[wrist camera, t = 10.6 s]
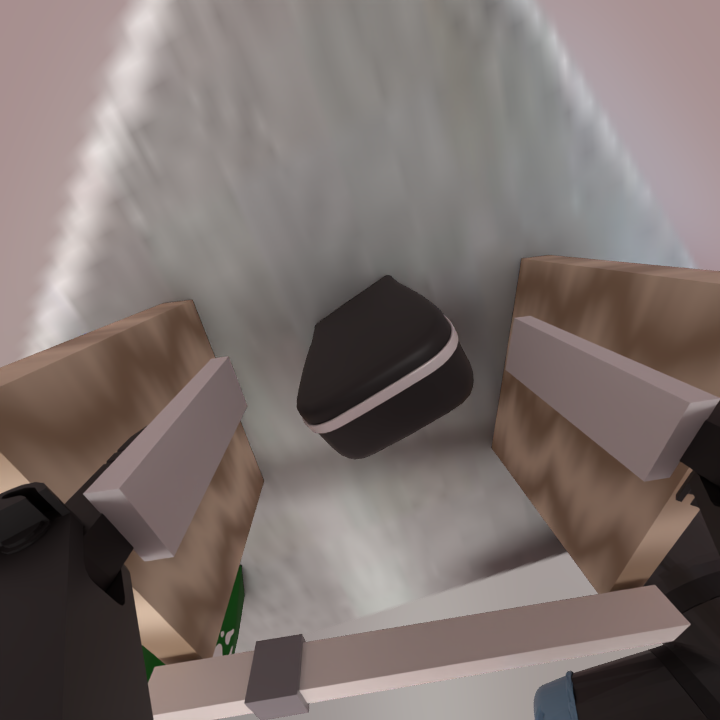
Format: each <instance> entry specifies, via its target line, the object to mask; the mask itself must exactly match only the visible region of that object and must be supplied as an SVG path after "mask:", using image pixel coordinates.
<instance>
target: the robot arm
mask: <svg viewBox="0 0 720 720" xmlns="http://www.w3.org/2000/svg"><path fill="white" fill-rule="evenodd" d="M505 370H507V371H508V372H509V373H510V374H511V375H513V376H514V377H515V378H516V379H518V380H519V381H520V382H521V383H523V384H524V385H525V386H526V387H528V388H529V389H530V390H531V391H533V392H534V393H535V394H536V395H537V396H539V397H540V398H541V399H542V400H544V401H545V402H546V403H547V404H549V405H550V406H551V407H552V408H554V409H555V410H556V411H557V412H558V413H560V414H561V415H562V416H563V417H565V418H566V419H567V420H568V421H570V422H571V423H572V424H573V425H575V426H576V427H577V428H578V429H580V430H581V431H582V432H583V433H584V434H586V435H587V436H588V437H589V438H591V439H592V440H593V441H594V442H596V443H597V444H598V445H599V446H601V447H602V448H603V449H604V450H606V451H607V452H608V453H609V454H610V455H612V456H613V457H614V458H615V459H617V460H618V461H619V462H620V463H622V464H623V465H624V466H625V467H627V468H628V469H629V470H630V471H632V472H633V473H634V474H635V475H636V476H638V477H639V478H640V479H641V480H643V481H644V482H645V481H651V480H658V479H664V478H670V476H671V475H672V473H673V472H674V470H675V469H676V467H677V466H678V464H679V462H682V463H683V464H685V465H686V466H688V467H689V468H691V469H692V472H691V473H690V474H689V476H688V477H687V479H686V480H685V482H684V483H683V485H682V486H681V488H680V489H679V490H678V492H677V493H676V500H677V501H680V502H682V501H683V499H684V498H685V497H686V495H687V494H691V495H694V497H695V498H694V499H693V500H692V502H691V503H690V505H692V506H695V507H698V508H699V509H700V510H699V512H698V513H697V514H696V516H695V517H694V518H693V520H692V521H691V522H690V524H689V525H688V526H687V528H686V529H685V530H684V532H683V533H682V535H681V536H680V537H679V539H678V540H677V541H676V543H675V544H674V545H673V547H672V548H671V549H670V551H669V552H668V553H667V555H666V556H665V557H664V559H663V560H662V561H661V563H660V564H659V565H658V567H657V568H656V569H655V571H654V572H653V573H652V575H651V576H650V578H649V579H648V580H647V582H646V583H645V584H644V586H650V585H656V586H657V588H658V589H659V590H660V591H661V592H662V593H663V594H664V595H665V596H666V597H667V599H668V600H669V601H670V602H671V603H672V604H673V605H674V606H675V607H676V608H677V609H678V611H679V612H680V613H681V614H682V615H683V616H684V617H685V618H686V619H687V620H688V622H689V623H690V624H691V625H690V626H689V627H688V628H687V629H685V630H684V631H683V632H682V633H681V634H680V635H679V636H678V637H677V638H676V639H675V640H674V641H671V642H665V643H663V645H662V646H659V647H656V648H653V649H650V650H647V651H643V652H640V653H637V654H634V655H630V656H627V657H624V658H621V659H618V660H615V661H611V662H608V663H605V664H602V665H598V666H595V667H592V668H589V669H585V670H582V671H579V672H576V673H573V672H572V671H568V672H567V673H566V676H564V677H562V678H559V679H556V680H554V681H552V682H549V683H547V684H544V685H542V686H541V687H539V689H538V690H537V692H536V694H535V698H534V716H535V720H720V398H719V397H717V396H714V395H712V394H710V393H707V392H705V391H703V390H701V389H698V388H696V387H694V386H691V385H689V384H687V383H684V382H682V381H680V380H677V379H675V378H673V377H671V376H668V375H666V374H664V373H661V372H659V371H657V370H654V369H652V368H650V367H647V366H645V365H643V364H641V363H638V362H636V361H634V360H631V359H629V358H627V357H624V356H622V355H620V354H617V353H615V352H613V351H610V350H608V349H606V348H604V347H601V346H599V345H597V344H594V343H592V342H590V341H587V340H585V339H583V338H580V337H578V336H576V335H574V334H571V333H569V332H567V331H564V330H562V329H560V328H557V327H555V326H553V325H550V324H548V323H546V322H544V321H541V320H539V319H537V318H534V317H532V316H524V317H517V318H514V322H513V328H512V334H511V339H510V345H509V351H508V357H507V363H506V368H505ZM246 408H247V403H246V401H245V398H244V396H243V393H242V390H241V388H240V385H239V382H238V380H237V377H236V374H235V372H234V369H233V366H232V364H231V361H230V358H229V356H227V357H219V358H212V359H210V361H209V362H208V363H207V364H206V365H205V366H204V367H203V368H202V369H201V370H200V371H199V372H198V373H197V374H196V375H195V376H194V377H193V378H192V379H191V381H190V382H189V383H188V384H187V385H186V386H185V387H184V388H183V389H182V390H181V391H180V392H179V393H178V394H177V395H176V396H175V397H174V398H173V399H172V401H171V402H170V403H169V404H168V405H167V406H166V407H165V408H164V409H163V410H162V411H161V412H160V413H159V414H158V415H157V416H156V417H155V418H154V420H153V421H152V422H151V423H150V424H149V425H148V426H145V427H144V428H143V429H141V430H140V431H138V432H137V433H135V434H134V435H133V436H131V437H130V438H129V439H128V440H127V441H126V442H125V443H124V444H123V445H122V446H121V447H120V448H119V449H118V450H117V453H114V454H113V455H112V456H111V457H110V458H109V459H108V460H107V461H106V462H107V463H106V464H103V465H102V466H101V467H100V468H99V469H98V470H97V471H96V472H95V473H94V474H93V475H92V476H91V477H90V478H89V479H88V480H87V482H86V483H85V484H84V485H83V486H82V487H81V488H80V489H79V490H78V491H77V492H76V493H75V494H74V495H73V496H72V497H71V498H70V499H69V500H68V501H67V502H66V503H65V504H64V503H63V502H62V501H61V500H60V499H59V498H58V497H57V496H56V495H55V494H54V493H53V492H52V491H51V490H50V489H49V488H48V487H47V486H46V485H45V484H44V483H40V482H33V483H28V484H24V485H20V486H18V487H15V488H13V489H10V490H7V491H5V492H3V493H1V494H0V720H154V719H153V713H152V706H151V700H150V694H149V688H148V681H147V675H146V669H145V663H144V656H143V650H142V644H141V638H140V632H139V625H138V619H137V613H136V607H135V600H134V594H133V588H132V582H131V575H130V572H129V570H128V568H127V567H126V566H125V565H124V563H125V561H126V560H127V558H128V557H129V555H130V553H131V552H132V550H134V551H135V552H136V553H137V554H138V555H139V556H140V557H141V558H142V559H143V561H144V562H145V561H152V560H158V559H164V558H170V557H174V556H175V554H176V552H177V549H178V547H179V545H180V543H181V541H182V539H183V537H184V535H185V533H186V531H187V529H188V527H189V525H190V523H191V521H192V519H193V517H194V515H195V513H196V511H197V508H198V506H199V504H200V502H201V500H202V498H203V496H204V494H205V492H206V490H207V488H208V486H209V484H210V482H211V480H212V478H213V476H214V474H215V472H216V469H217V467H218V465H219V463H220V461H221V459H222V457H223V455H224V453H225V451H226V449H227V447H228V445H229V443H230V441H231V439H232V437H233V435H234V433H235V431H236V428H237V426H238V424H239V422H240V420H241V418H242V416H243V414H244V412H245V410H246ZM644 586H643V587H644Z"/></svg>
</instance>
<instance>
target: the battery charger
mask: <svg viewBox="0 0 720 720" xmlns="http://www.w3.org/2000/svg"><path fill="white" fill-rule="evenodd" d="M473 381H474V380H473V371H472V368H471V365H470V362H469V360H468V359H467V357H466V355H465V353H464V351H463V349H462V347H461V345H460V343H459V341H458V334H457V332H456V330H455V328H454V326H453V324H452V323H451V321H450V320H449V319H448V318H447V317H446V316H445V315H444V314H443V313H442V312H441V310H439V309H438V308H437V307H436V306H435V305H434V304H432V303H431V302H430V301H429V300H427V299H426V298H425V297H423V296H422V295H420V294H419V293H417V292H415V291H413V290H411V289H410V288H408V287H406V286H404V285H402V284H400V283H398V282H397V281H396V280H394V279H393V278H392V276H390V275H387V276H385V277H383V278H382V279H381V280H379V281H378V282H376V283H375V284H373V285H372V286H370V287H369V288H367V289H366V290H365V291H363V292H362V293H360V294H359V295H357V296H356V297H354V298H353V299H352V300H350V301H349V302H347V303H346V304H344V305H343V306H341V307H340V308H339V309H337V310H336V311H334V312H333V313H331V314H330V315H329V316H327V317H326V318H324V319H323V320H322V321H320V322H319V323H317V324H316V325H315V329H314V334H313V339H312V343H311V346H310V349H309V352H308V355H307V358H306V362H305V365H304V369H303V373H302V377H301V381H300V386H299V391H298V396H297V410H298V411H299V413H300V415H301V416H302V417H303V421H304V423H305V424H306V425H307V426H308V427H309V428H310V429H311V430H312V431H313V432H315V433H318V434H319V435H320V436H321V437H322V438H323V439H324V440H325V441H326V442H327V443H328V444H329V445H330V446H332V447H333V448H334V449H335V450H336V451H337V452H338V453H340V454H341V455H343V456H345V457H348V458H351V459H361V458H365V457H368V456H370V455H372V454H375V453H376V452H378V451H380V450H382V449H384V448H386V447H388V446H390V445H392V444H393V443H395V442H397V441H399V440H401V439H403V438H405V437H407V436H409V435H410V434H412V433H414V432H416V431H417V430H419V429H421V428H423V427H424V426H426V425H428V424H430V423H431V422H433V421H435V420H436V419H438V418H440V417H442V416H443V415H445V414H447V413H449V412H450V411H452V410H453V409H455V408H456V407H458V406H459V405H460V404H462V403H463V402H464V401H465V400H466V398H467V397H468V396H469V395H470V393H471V390H472V388H473Z"/></svg>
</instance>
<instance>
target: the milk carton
mask: <svg viewBox="0 0 720 720" xmlns="http://www.w3.org/2000/svg"><path fill="white" fill-rule="evenodd" d="M244 596H245V595H244V585H243V576H242V566H241V565H240V566H239V568H238V572H237V575H236V579H235V582H234V585H233V589H232V592H231V596H230V599H229V603H228V606H227V609H226V613H225V616H224V620H223V623H222V627H221V630H220V633H219V637H218V640H217V644H216V647H215V651H214V654H213V657H218V656H224V655H230V654H234V653H235V648H236V644H237V639H238V634H239V628H240V622H241V615H242V609H243V602H244ZM142 650H143V656H144V663H145V669H146V675H147V681H148V682H149V679H150V677H151V675H152V672H153V670H154V667H157V666H163V665H165V664H164V663H163V662H162V661H161V660H160V659H158V658H157V657H156V656H155V655H154V654H153V653H151V652H150V651H149V650H148V649H147V648H145V647H144V646H143V645H142ZM215 720H218V719H215Z"/></svg>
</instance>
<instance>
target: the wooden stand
mask: <svg viewBox="0 0 720 720" xmlns="http://www.w3.org/2000/svg"><path fill="white" fill-rule="evenodd" d="M524 316H532V317H534V318H537V319H539V320H541V321H544V322H546V323H548V324H550V325H553V326H555V327H557V328H560V329H562V330H564V331H567V332H569V333H571V334H574V335H576V336H578V337H580V338H583V339H585V340H587V341H590V342H592V343H594V344H597V345H599V346H601V347H604V348H606V349H608V350H610V351H613V352H615V353H617V354H620V355H622V356H624V357H627V358H629V359H631V360H634V361H636V362H638V363H641V364H643V365H645V366H647V367H650V368H652V369H654V370H657V371H659V372H661V373H664V374H666V375H668V376H671V377H673V378H675V379H677V380H680V381H682V382H684V383H687V384H689V385H691V386H694V387H696V388H698V389H701V390H703V391H705V392H707V393H710V394H712V395H714V396H717V397H719V398H720V271H711V270H700V269H690V268H679V267H669V266H658V265H648V264H637V263H627V262H616V261H606V260H595V259H585V258H574V257H564V256H554V255H546V256H538V257H530V258H522V259H521V266H520V272H519V278H518V285H517V291H516V297H515V304H514V310H513V316H512V322H511V329H510V335H509V341H508V348H507V354H506V360H505V367H504V373H503V379H502V385H501V392H500V398H499V404H498V411H497V417H496V423H495V430H494V436H493V442H492V449H493V450H494V452H495V453H496V455H497V456H498V457H499V459H500V460H501V461H502V463H503V464H504V466H505V467H506V468H507V470H508V471H509V472H510V474H511V475H512V476H513V478H514V479H515V481H516V482H517V483H518V485H519V486H520V487H521V489H522V490H523V492H524V493H525V494H526V496H527V497H528V498H529V500H530V501H531V502H532V504H533V505H534V507H535V508H536V509H537V511H538V512H539V513H540V515H541V516H542V517H543V519H544V520H545V522H546V523H547V524H548V526H549V527H550V528H551V530H552V531H553V533H554V534H555V535H556V537H557V538H558V539H559V541H560V542H561V543H562V545H563V546H564V548H565V549H566V550H567V552H568V553H569V554H570V556H571V557H572V558H573V560H574V561H575V563H576V564H577V565H578V567H579V568H580V569H581V571H582V572H583V574H584V575H585V576H586V578H587V579H588V580H589V582H590V583H591V585H592V586H593V587H594V589H595V590H596V591H597V593H598V594H602V593H608V592H614V591H620V590H626V589H632V588H638V587H643V586H644V584H645V583H646V582H647V580H648V579H649V578H650V576H651V575H652V573H653V572H654V571H655V569H656V568H657V567H658V565H659V564H660V563H661V561H662V560H663V559H664V557H665V556H666V555H667V553H668V552H669V551H670V549H671V548H672V547H673V545H674V544H675V543H676V541H677V540H678V539H679V537H680V536H681V535H682V533H683V532H684V530H685V529H686V528H687V526H688V525H689V524H690V522H691V521H692V520H693V518H694V517H695V516H696V514H697V513H698V512H699V510H700V509H699V508H698V507H695V506H692V505H690V503H691V502H692V500H693V499H694V498H695V497H694V495H691V494H687V495H686V497H685V498H684V499H683V501H682V502H680V501H677V500H676V493H677V492H678V490H679V489H680V488H681V486H682V485H683V483H684V482H685V480H686V479H687V477H688V476H689V474H690V473H691V472H692V469H691V468H689V467H688V466H686V465H685V464H683V463H682V462H679V464H678V466H677V467H676V469H675V470H674V472H673V473H672V475H671V476H670V478H664V479H658V480H651V481H645V482H644V481H643V480H641V479H640V478H639V477H638V476H636V475H635V474H634V473H633V472H632V471H630V470H629V469H628V468H627V467H625V466H624V465H623V464H622V463H620V462H619V461H618V460H617V459H615V458H614V457H613V456H612V455H610V454H609V453H608V452H607V451H606V450H604V449H603V448H602V447H601V446H599V445H598V444H597V443H596V442H594V441H593V440H592V439H591V438H589V437H588V436H587V435H586V434H584V433H583V432H582V431H581V430H580V429H578V428H577V427H576V426H575V425H573V424H572V423H571V422H570V421H568V420H567V419H566V418H565V417H563V416H562V415H561V414H560V413H558V412H557V411H556V410H555V409H554V408H552V407H551V406H550V405H549V404H547V403H546V402H545V401H544V400H542V399H541V398H540V397H539V396H537V395H536V394H535V393H534V392H533V391H531V390H530V389H529V388H528V387H526V386H525V385H524V384H523V383H521V382H520V381H519V380H518V379H516V378H515V377H514V376H513V375H511V374H510V373H509V372H508V371H507V370H505V368H506V363H507V357H508V351H509V345H510V339H511V334H512V328H513V322H514V318H517V317H524ZM212 358H215V356H214V353H213V351H212V348H211V346H210V343H209V341H208V338H207V336H206V333H205V331H204V328H203V326H202V323H201V321H200V318H199V316H198V313H197V310H196V308H195V305H194V303H193V300H186V301H178V302H170V303H162V304H160V305H157V306H155V307H152V308H150V309H147V310H145V311H142V312H140V313H137V314H135V315H132V316H129V317H127V318H124V319H122V320H119V321H117V322H114V323H112V324H109V325H107V326H104V327H102V328H99V329H97V330H94V331H92V332H89V333H87V334H84V335H82V336H79V337H76V338H74V339H71V340H69V341H66V342H64V343H61V344H59V345H56V346H54V347H51V348H49V349H46V350H44V351H41V352H39V353H36V354H34V355H31V356H29V357H26V358H24V359H21V360H18V361H16V362H13V363H11V364H8V365H6V366H3V367H1V368H0V494H1V493H3V492H5V491H7V490H10V489H13V488H15V487H18V486H20V485H24V484H28V483H33V482H40V483H44V484H45V485H46V486H47V487H48V488H49V489H50V490H51V491H52V492H53V493H54V494H55V495H56V496H57V497H58V498H59V499H60V500H61V501H62V502H63V503H64V504H65V503H66V502H67V501H68V500H69V499H70V498H71V497H72V496H73V495H74V494H75V493H76V492H77V491H78V490H79V489H80V488H81V487H82V486H83V485H84V484H85V483H86V482H87V480H88V479H89V478H90V477H91V476H92V475H93V474H94V473H95V472H96V471H97V470H98V469H99V468H100V467H101V466H102V465H103V464H106V463H107V462H106V461H107V460H108V459H109V458H110V457H111V456H112V455H113V454H114V453H117V450H118V449H119V448H120V447H121V446H122V445H123V444H124V443H125V442H126V441H127V440H128V439H129V438H130V437H131V436H133V435H134V434H135V433H137V432H138V431H140V430H141V429H143V428H144V427H145V426H148V425H149V424H150V423H151V422H152V421H153V420H154V418H155V417H156V416H157V415H158V414H159V413H160V412H161V411H162V410H163V409H164V408H165V407H166V406H167V405H168V404H169V403H170V402H171V401H172V399H173V398H174V397H175V396H176V395H177V394H178V393H179V392H180V391H181V390H182V389H183V388H184V387H185V386H186V385H187V384H188V383H189V382H190V381H191V379H192V378H193V377H194V376H195V375H196V374H197V373H198V372H199V371H200V370H201V369H202V368H203V367H204V366H205V365H206V364H207V363H208V362H209V361H210V359H212ZM263 483H264V480H263V477H262V475H261V472H260V470H259V467H258V465H257V462H256V460H255V457H254V455H253V452H252V450H251V447H250V445H249V442H248V439H247V437H246V434H245V432H244V429H243V427H242V424H241V422H239V424H238V426H237V428H236V431H235V433H234V435H233V437H232V439H231V441H230V443H229V445H228V447H227V449H226V451H225V453H224V455H223V457H222V459H221V461H220V463H219V465H218V467H217V469H216V472H215V474H214V476H213V478H212V480H211V482H210V484H209V486H208V488H207V490H206V492H205V494H204V496H203V498H202V500H201V502H200V504H199V506H198V508H197V511H196V513H195V515H194V517H193V519H192V521H191V523H190V525H189V527H188V529H187V531H186V533H185V535H184V537H183V539H182V541H181V543H180V545H179V547H178V549H177V552H176V554H175V556H174V557H170V558H164V559H158V560H152V561H145V562H144V561H143V559H142V558H141V557H140V556H139V555H138V554H137V553H136V552H135V551H134V550H132V552H131V553H130V555H129V557H128V558H127V560H126V561H125V563H124V565H125V566H126V567H127V568H128V570H129V572H130V575H131V582H132V588H133V594H134V600H135V607H136V613H137V619H138V625H139V632H140V638H141V644H142V645H143V646H144V647H145V648H147V649H148V650H149V651H150V652H151V653H153V654H154V655H155V656H156V657H157V658H158V659H160V660H161V661H162V662H163V663H164V664H165V665H169V664H175V663H182V662H188V661H194V660H200V659H206V658H212V657H213V654H214V651H215V647H216V644H217V640H218V637H219V633H220V630H221V627H222V623H223V620H224V616H225V613H226V609H227V606H228V603H229V599H230V596H231V592H232V589H233V585H234V582H235V579H236V575H237V572H238V568H239V565H240V561H241V558H242V555H243V551H244V548H245V544H246V541H247V537H248V534H249V531H250V527H251V524H252V520H253V517H254V513H255V510H256V507H257V503H258V500H259V496H260V493H261V489H262V486H263Z"/></svg>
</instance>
